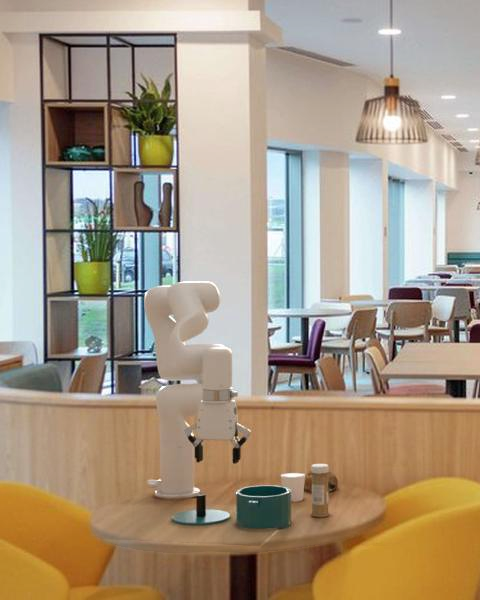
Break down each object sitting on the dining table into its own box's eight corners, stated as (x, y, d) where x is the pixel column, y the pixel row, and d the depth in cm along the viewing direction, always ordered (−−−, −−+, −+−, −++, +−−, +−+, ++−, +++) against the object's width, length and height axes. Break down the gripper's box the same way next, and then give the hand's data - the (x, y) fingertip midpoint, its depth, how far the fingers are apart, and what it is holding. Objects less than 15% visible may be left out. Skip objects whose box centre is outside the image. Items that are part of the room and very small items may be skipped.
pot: (225, 532, 262) (225, 498, 262) (249, 514, 281) (249, 482, 281) (279, 534, 260) (278, 500, 260) (299, 516, 279) (299, 484, 278)
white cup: (307, 496, 301) (307, 472, 301) (302, 502, 294) (302, 477, 294) (283, 496, 302) (283, 471, 302) (278, 502, 295) (278, 476, 295)
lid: (163, 526, 268) (163, 500, 268) (184, 512, 283) (184, 487, 283) (218, 528, 266) (218, 502, 266) (237, 514, 280) (237, 489, 280)
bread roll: (318, 506, 306) (327, 482, 303) (292, 487, 310) (301, 463, 308) (338, 499, 314) (347, 476, 312) (312, 481, 319) (321, 458, 317)
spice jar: (332, 515, 280) (332, 464, 279) (321, 518, 276) (321, 467, 276) (319, 512, 283) (318, 462, 282) (307, 516, 279) (307, 465, 278)
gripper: (254, 394, 274) (254, 460, 275) (190, 392, 277) (190, 458, 278) (245, 398, 267) (245, 466, 268) (179, 396, 270) (180, 463, 271)
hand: (217, 462), depth 273 cm, fingers open, 9 cm apart
